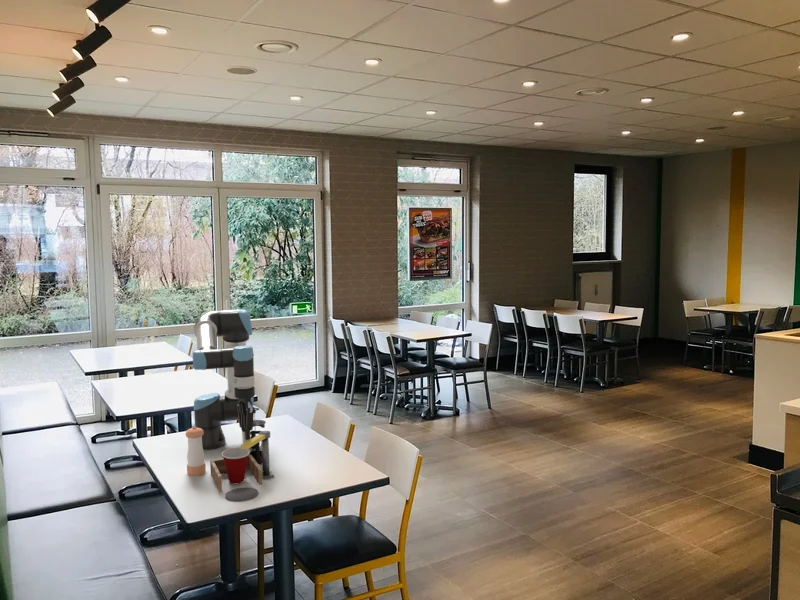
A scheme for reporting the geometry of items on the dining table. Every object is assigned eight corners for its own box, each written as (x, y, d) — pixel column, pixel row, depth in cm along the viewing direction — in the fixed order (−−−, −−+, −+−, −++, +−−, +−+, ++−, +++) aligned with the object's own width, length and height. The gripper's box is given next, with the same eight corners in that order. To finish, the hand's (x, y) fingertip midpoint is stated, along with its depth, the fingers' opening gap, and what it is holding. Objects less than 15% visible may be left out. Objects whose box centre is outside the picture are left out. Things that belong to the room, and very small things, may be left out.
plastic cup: (228, 488, 246) (227, 458, 245) (218, 480, 255) (217, 450, 254) (255, 482, 252) (254, 452, 251) (244, 474, 261) (243, 445, 260)
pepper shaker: (204, 474, 262) (202, 428, 260) (185, 476, 260) (183, 429, 259) (206, 468, 269) (204, 423, 267) (188, 470, 268) (186, 424, 266)
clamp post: (258, 475, 260) (257, 437, 258) (271, 473, 262) (269, 436, 260) (261, 479, 255) (259, 441, 254) (273, 477, 257) (272, 439, 256)
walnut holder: (210, 475, 261) (210, 460, 261) (251, 468, 268) (251, 454, 268) (218, 492, 243) (218, 476, 242) (262, 484, 250) (261, 469, 249)
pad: (222, 492, 243) (222, 490, 243) (254, 486, 248) (254, 485, 247) (228, 503, 232) (228, 502, 232) (261, 497, 237) (261, 496, 237)
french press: (269, 463, 274) (267, 410, 272) (247, 466, 270) (245, 412, 268) (264, 455, 285) (262, 403, 283) (243, 458, 281) (240, 406, 279)
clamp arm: (238, 449, 242) (238, 444, 242) (262, 435, 260) (262, 430, 260) (249, 450, 241) (249, 444, 241) (272, 436, 258) (272, 431, 258)
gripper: (228, 385, 250) (231, 444, 252) (241, 391, 239) (243, 453, 241) (247, 382, 254) (249, 441, 256) (260, 388, 243) (262, 449, 246)
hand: (246, 447), depth 249 cm, fingers closed
